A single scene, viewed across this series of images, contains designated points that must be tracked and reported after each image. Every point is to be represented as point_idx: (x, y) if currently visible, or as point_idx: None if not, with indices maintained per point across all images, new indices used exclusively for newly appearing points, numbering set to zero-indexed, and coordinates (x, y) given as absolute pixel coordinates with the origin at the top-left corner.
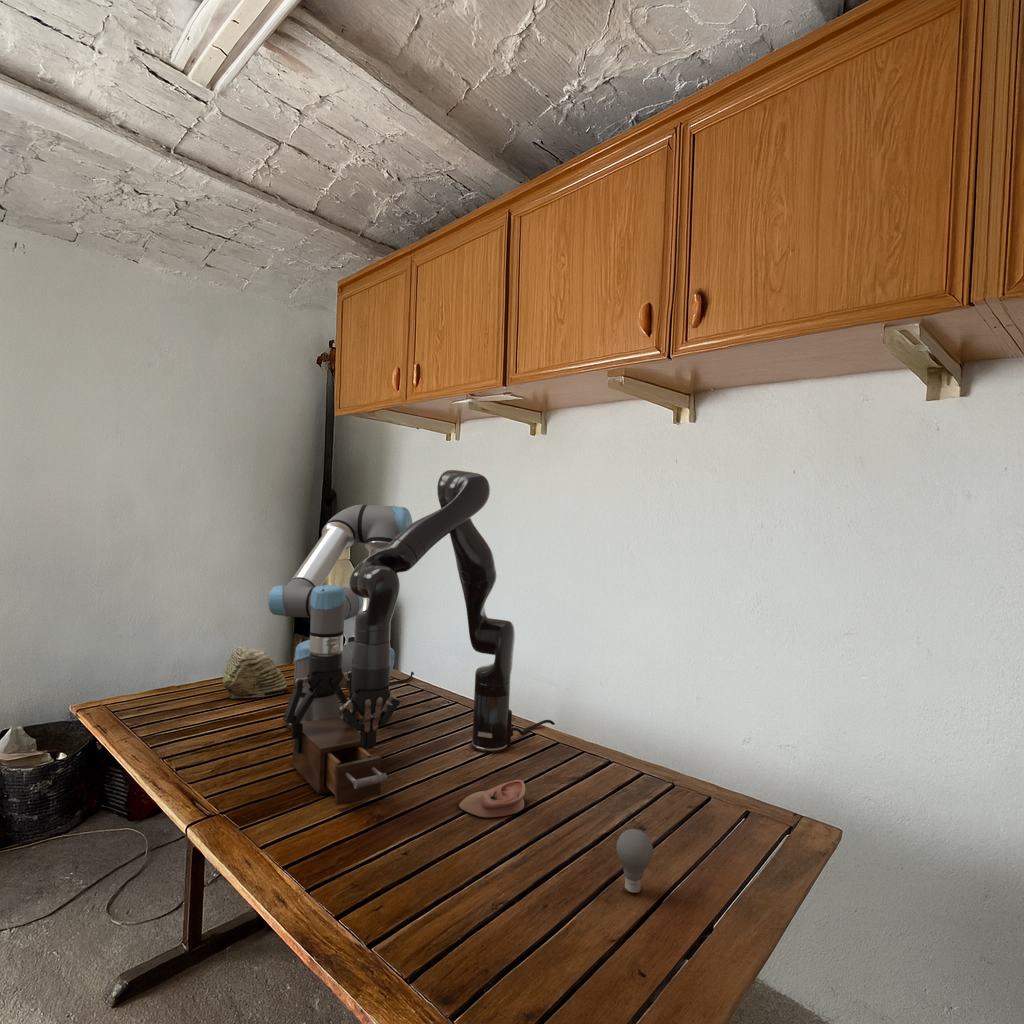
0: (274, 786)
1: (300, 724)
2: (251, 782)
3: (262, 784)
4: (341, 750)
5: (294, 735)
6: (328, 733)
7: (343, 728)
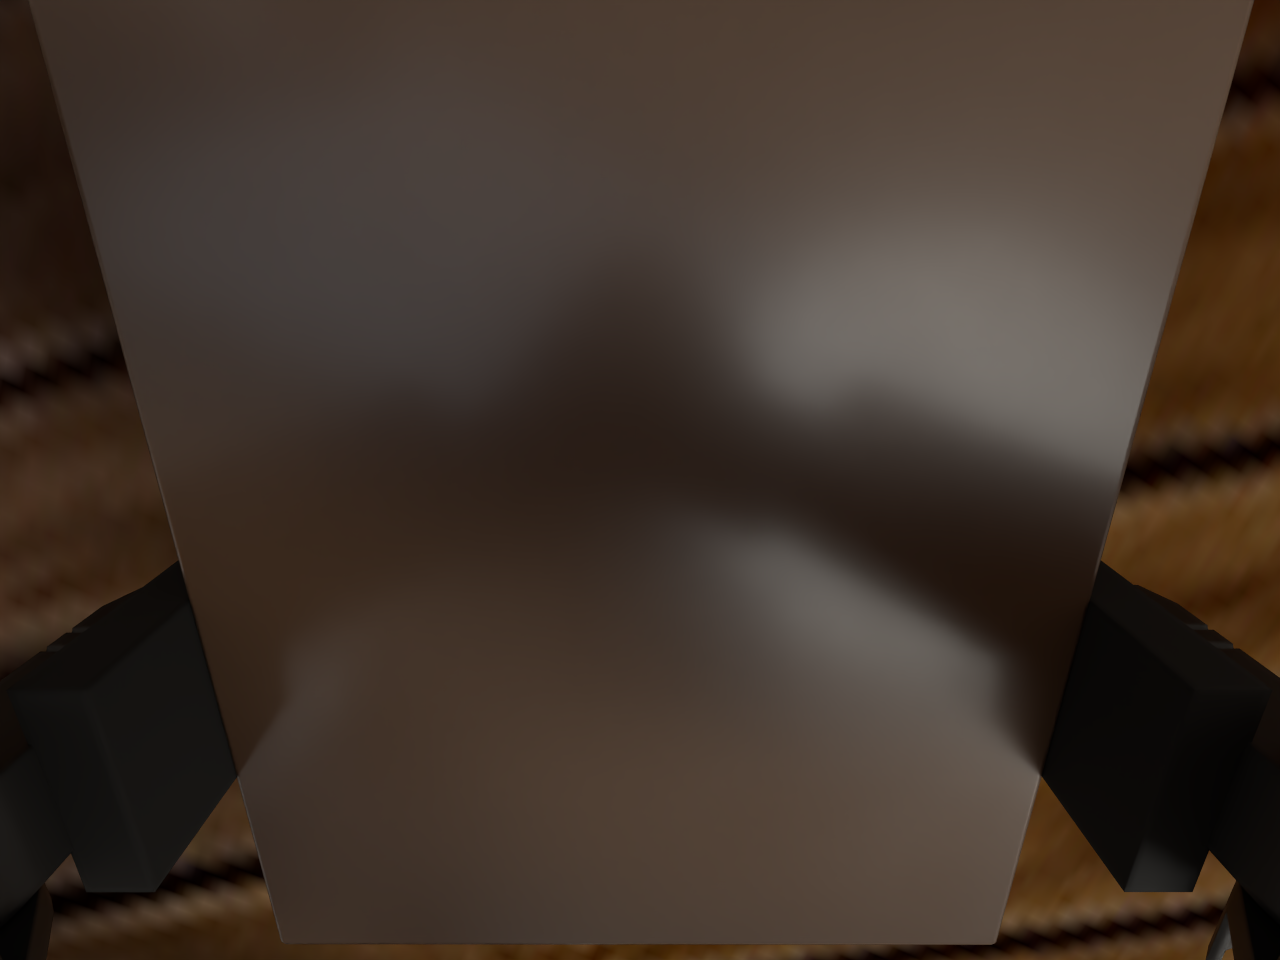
0: None
1: (1232, 713)
2: (1238, 462)
3: (1195, 380)
4: None
5: (1167, 610)
6: (720, 245)
7: (326, 371)
